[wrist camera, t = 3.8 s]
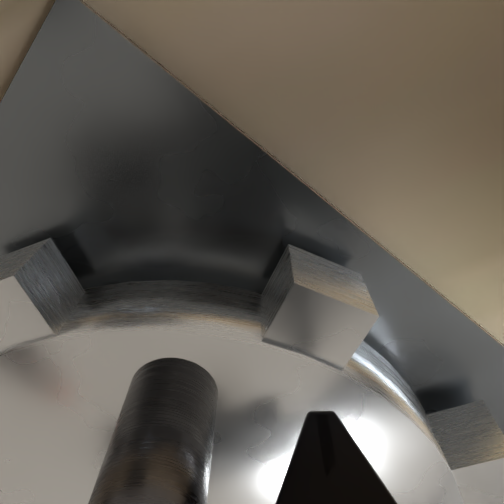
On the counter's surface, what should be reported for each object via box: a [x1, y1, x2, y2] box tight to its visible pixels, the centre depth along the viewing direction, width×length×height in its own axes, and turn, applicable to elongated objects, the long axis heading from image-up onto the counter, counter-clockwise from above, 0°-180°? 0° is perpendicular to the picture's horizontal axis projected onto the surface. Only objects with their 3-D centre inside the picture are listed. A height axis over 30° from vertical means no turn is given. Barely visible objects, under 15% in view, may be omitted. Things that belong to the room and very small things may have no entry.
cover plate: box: [0, 0, 504, 435], centre depth 14 cm, size 19×19×1 cm
